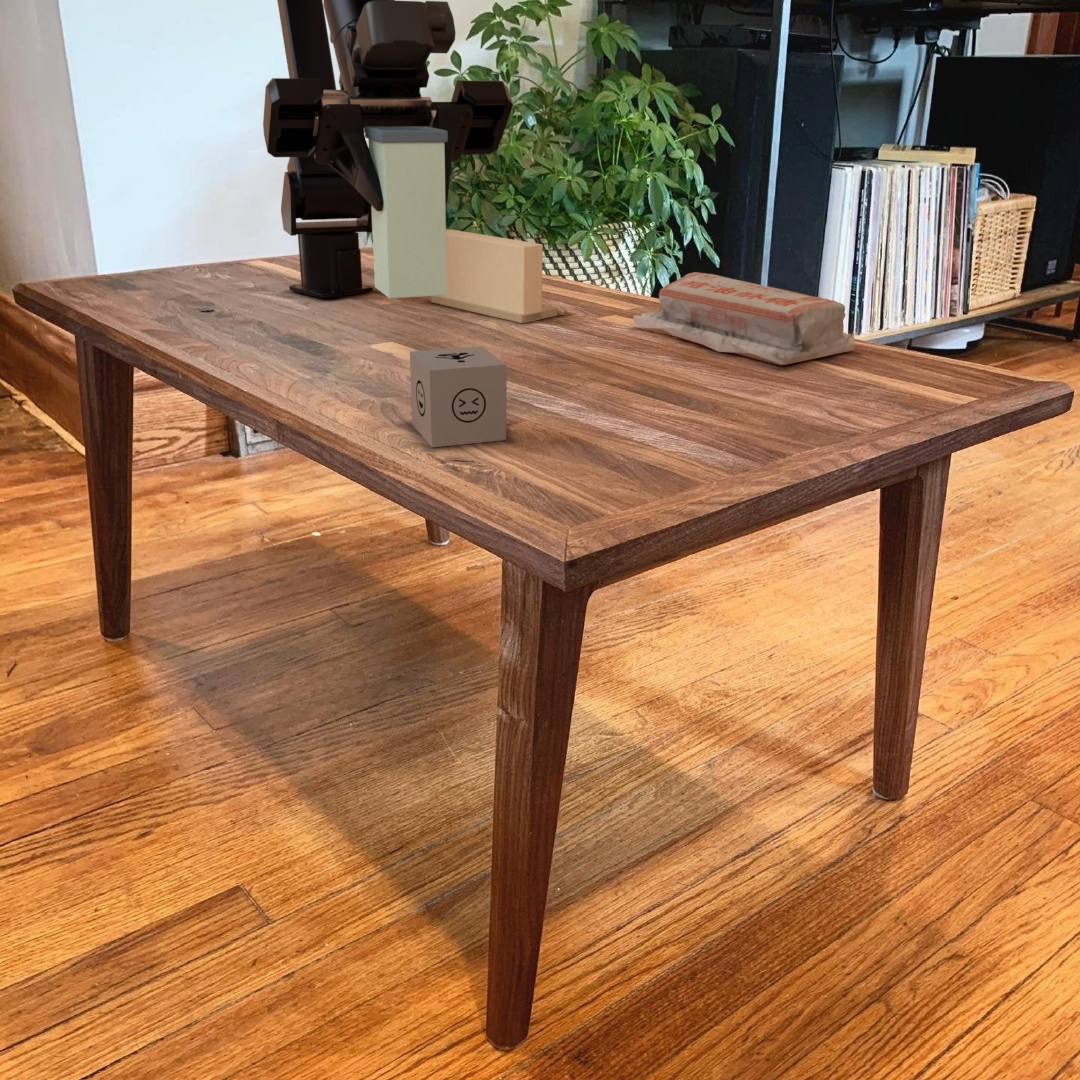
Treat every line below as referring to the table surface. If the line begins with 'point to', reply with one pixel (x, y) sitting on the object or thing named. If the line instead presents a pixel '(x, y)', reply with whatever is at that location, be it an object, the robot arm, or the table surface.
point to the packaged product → (749, 319)
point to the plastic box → (409, 211)
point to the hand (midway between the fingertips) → (412, 206)
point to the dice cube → (458, 396)
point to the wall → (494, 277)
